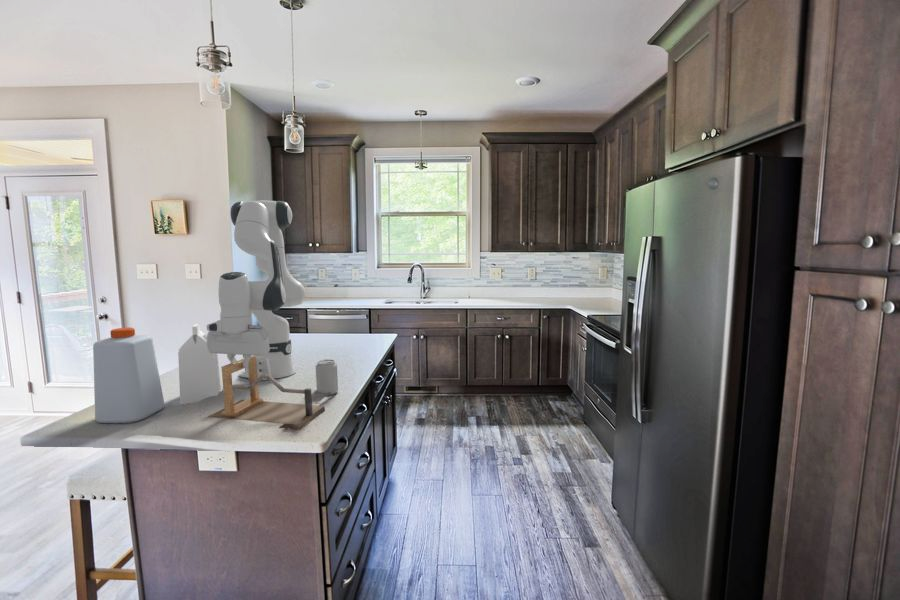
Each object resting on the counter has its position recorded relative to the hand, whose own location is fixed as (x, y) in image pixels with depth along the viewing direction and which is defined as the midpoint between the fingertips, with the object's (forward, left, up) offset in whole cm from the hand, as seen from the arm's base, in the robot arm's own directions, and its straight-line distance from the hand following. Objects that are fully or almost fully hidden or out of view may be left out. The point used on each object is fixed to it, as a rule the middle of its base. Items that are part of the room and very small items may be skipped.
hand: (240, 367), depth 135 cm
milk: (-26, +11, -15) cm, 32 cm away
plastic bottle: (-35, -8, -15) cm, 39 cm away
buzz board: (+9, 0, -15) cm, 18 cm away
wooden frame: (0, 0, -14) cm, 14 cm away
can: (+17, +23, -15) cm, 32 cm away
